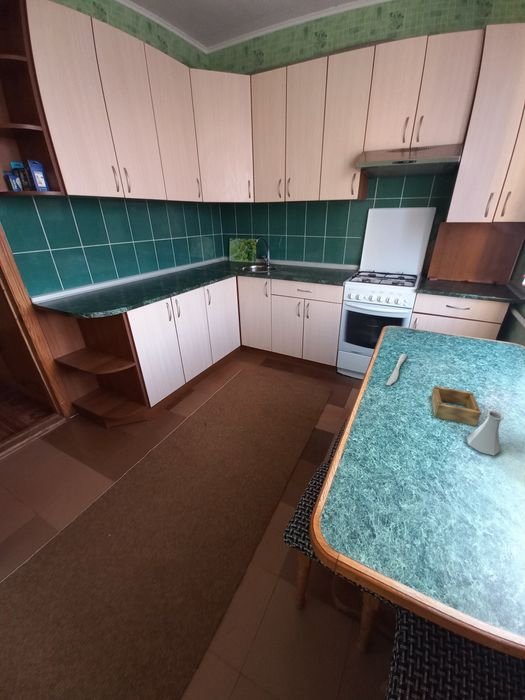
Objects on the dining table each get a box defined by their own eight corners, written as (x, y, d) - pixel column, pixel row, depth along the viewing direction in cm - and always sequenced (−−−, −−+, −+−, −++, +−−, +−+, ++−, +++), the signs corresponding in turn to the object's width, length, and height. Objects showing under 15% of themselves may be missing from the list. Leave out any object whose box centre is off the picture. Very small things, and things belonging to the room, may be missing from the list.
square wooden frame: (468, 404, 90) (472, 392, 88) (476, 425, 82) (481, 413, 80) (430, 397, 94) (434, 385, 92) (434, 417, 85) (438, 405, 83)
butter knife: (409, 354, 118) (402, 352, 120) (392, 386, 99) (383, 383, 100) (409, 356, 118) (401, 353, 120) (392, 388, 99) (383, 385, 101)
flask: (497, 460, 71) (512, 429, 66) (463, 445, 75) (475, 415, 71) (501, 443, 76) (516, 413, 71) (469, 431, 80) (480, 401, 75)
